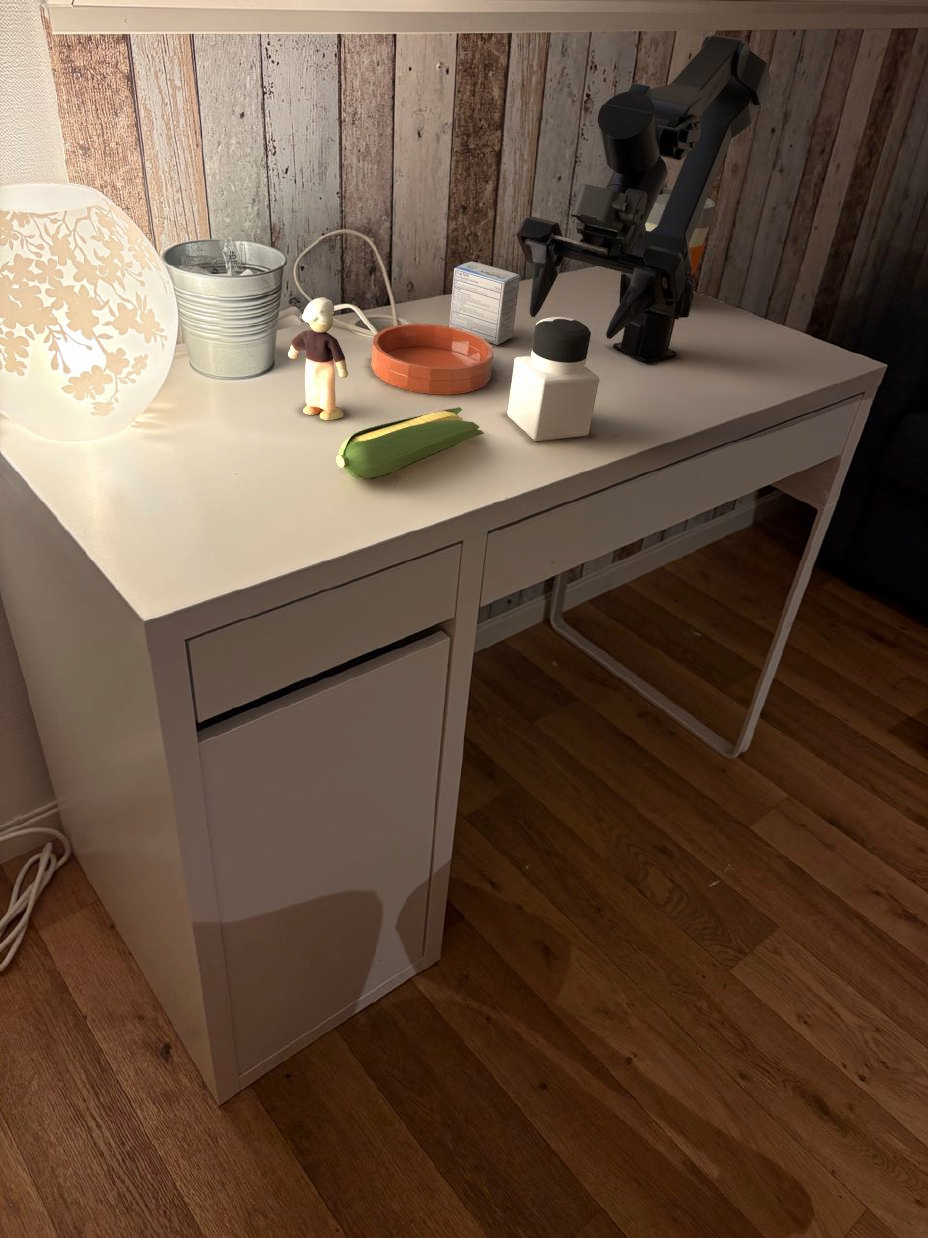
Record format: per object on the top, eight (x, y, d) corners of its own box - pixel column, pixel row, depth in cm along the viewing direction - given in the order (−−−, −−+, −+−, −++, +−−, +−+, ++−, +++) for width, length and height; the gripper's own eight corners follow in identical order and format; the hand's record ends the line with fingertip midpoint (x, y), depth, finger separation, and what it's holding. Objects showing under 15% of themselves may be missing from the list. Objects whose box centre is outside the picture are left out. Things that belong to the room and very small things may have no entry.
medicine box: (513, 338, 133) (522, 274, 127) (497, 346, 129) (505, 281, 124) (465, 322, 136) (471, 259, 130) (447, 330, 132) (453, 266, 127)
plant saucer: (440, 340, 129) (442, 316, 127) (515, 381, 120) (518, 356, 118) (348, 358, 121) (348, 333, 119) (420, 403, 112) (422, 377, 110)
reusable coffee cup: (674, 317, 147) (698, 213, 138) (600, 295, 152) (619, 194, 143) (704, 299, 156) (729, 200, 147) (634, 279, 161) (653, 183, 152)
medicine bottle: (589, 436, 109) (609, 333, 102) (533, 442, 107) (550, 336, 100) (559, 410, 115) (576, 309, 107) (506, 415, 112) (519, 312, 105)
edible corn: (322, 474, 96) (323, 432, 93) (464, 426, 108) (468, 388, 106) (356, 495, 93) (358, 452, 91) (497, 444, 106) (502, 405, 103)
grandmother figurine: (357, 412, 108) (361, 300, 101) (343, 425, 105) (346, 310, 98) (295, 397, 110) (294, 285, 102) (279, 410, 107) (277, 295, 99)
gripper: (536, 135, 102) (474, 263, 101) (703, 170, 96) (640, 308, 94) (556, 201, 113) (501, 318, 111) (708, 237, 106) (651, 362, 105)
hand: (569, 325), depth 105 cm, fingers open, 9 cm apart
